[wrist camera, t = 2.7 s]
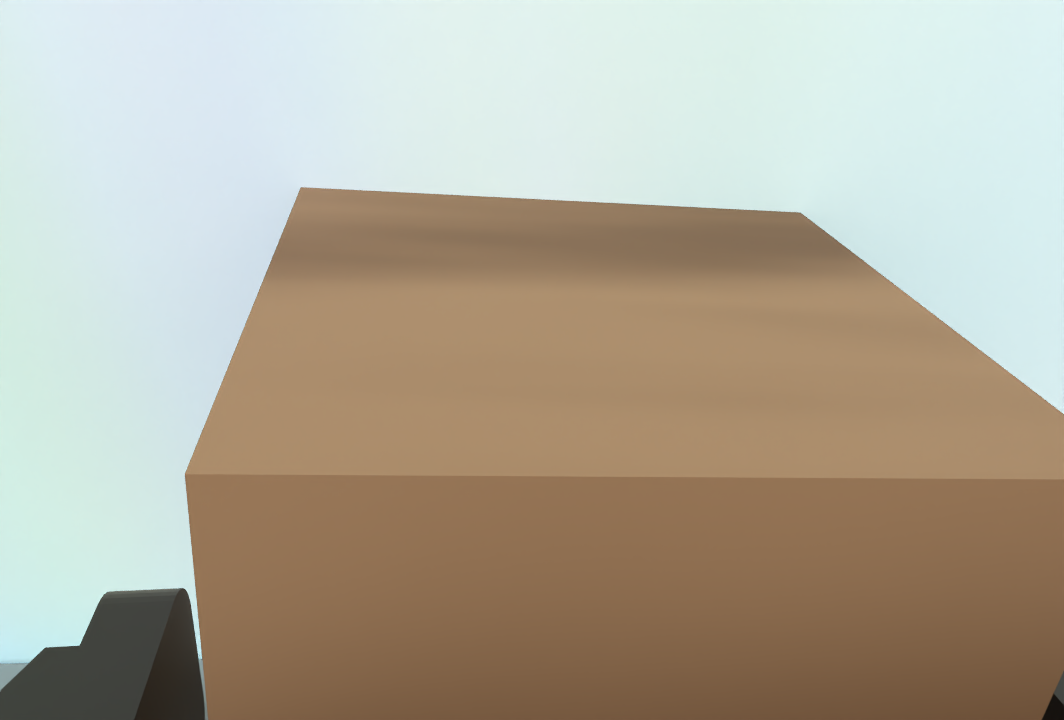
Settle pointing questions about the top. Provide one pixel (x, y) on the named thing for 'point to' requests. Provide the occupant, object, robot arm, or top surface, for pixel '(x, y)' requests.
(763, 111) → the top surface
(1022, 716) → the walnut block
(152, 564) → the top surface
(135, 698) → the robot arm
